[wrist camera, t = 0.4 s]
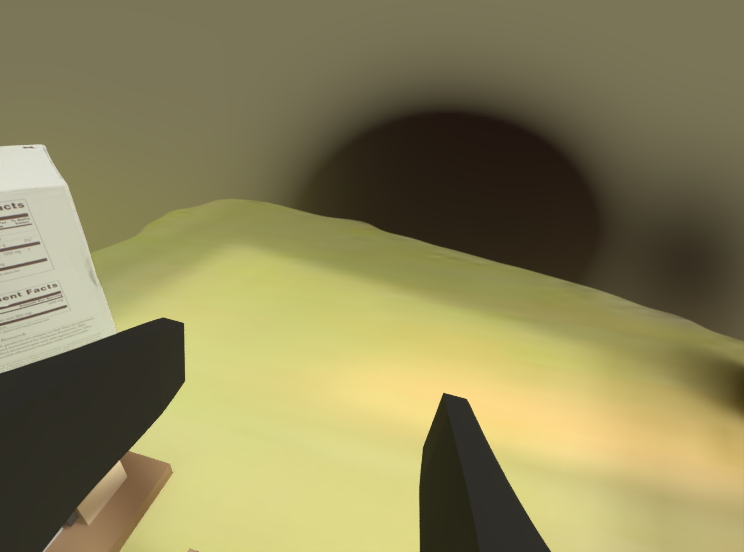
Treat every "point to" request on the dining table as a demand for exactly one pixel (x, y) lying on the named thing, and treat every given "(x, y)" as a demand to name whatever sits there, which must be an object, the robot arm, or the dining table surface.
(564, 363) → the dining table surface
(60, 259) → the supplement box
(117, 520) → the rail base
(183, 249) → the dining table surface
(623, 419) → the dining table surface
